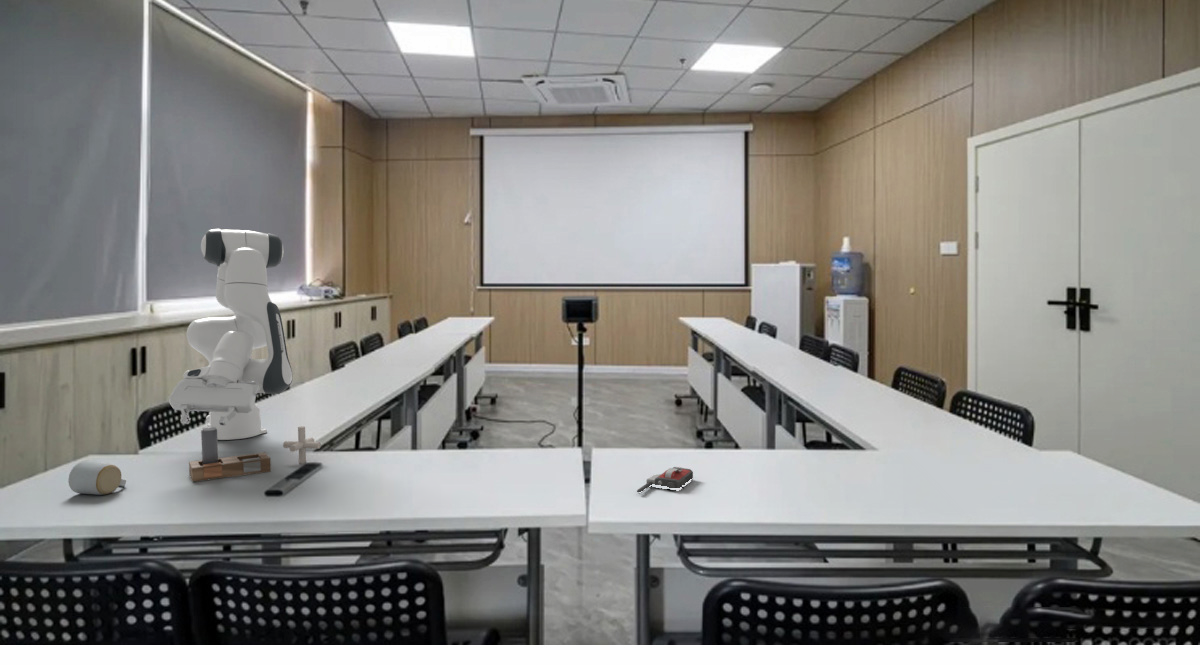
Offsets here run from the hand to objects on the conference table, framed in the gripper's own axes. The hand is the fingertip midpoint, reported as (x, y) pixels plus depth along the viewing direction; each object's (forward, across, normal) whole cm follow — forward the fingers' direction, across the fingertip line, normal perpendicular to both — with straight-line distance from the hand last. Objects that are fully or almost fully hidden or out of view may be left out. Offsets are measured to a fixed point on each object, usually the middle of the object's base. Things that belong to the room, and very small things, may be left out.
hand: (203, 423), depth 180 cm
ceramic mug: (+19, +18, -3) cm, 26 cm away
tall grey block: (+9, -2, -11) cm, 14 cm away
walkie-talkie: (+18, -117, +7) cm, 119 cm away
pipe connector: (0, -20, -19) cm, 28 cm away
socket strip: (+7, -6, -12) cm, 15 cm away
